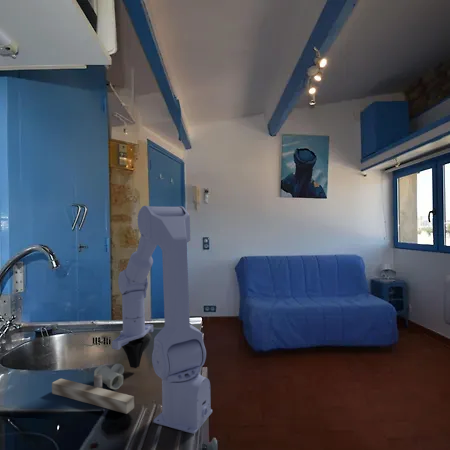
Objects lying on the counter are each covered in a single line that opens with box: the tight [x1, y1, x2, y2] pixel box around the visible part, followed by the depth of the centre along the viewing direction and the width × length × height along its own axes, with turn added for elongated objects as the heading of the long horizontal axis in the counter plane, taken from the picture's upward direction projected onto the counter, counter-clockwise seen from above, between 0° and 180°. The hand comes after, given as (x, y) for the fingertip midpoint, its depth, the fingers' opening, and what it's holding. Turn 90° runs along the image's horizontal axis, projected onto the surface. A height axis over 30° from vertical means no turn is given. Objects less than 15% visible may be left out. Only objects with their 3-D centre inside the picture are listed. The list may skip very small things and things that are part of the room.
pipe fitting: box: [93, 363, 125, 391], centre depth 83 cm, size 8×4×7 cm
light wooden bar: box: [51, 375, 135, 415], centre depth 75 cm, size 22×4×4 cm, turn 67°
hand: (134, 366), depth 88 cm, fingers closed
